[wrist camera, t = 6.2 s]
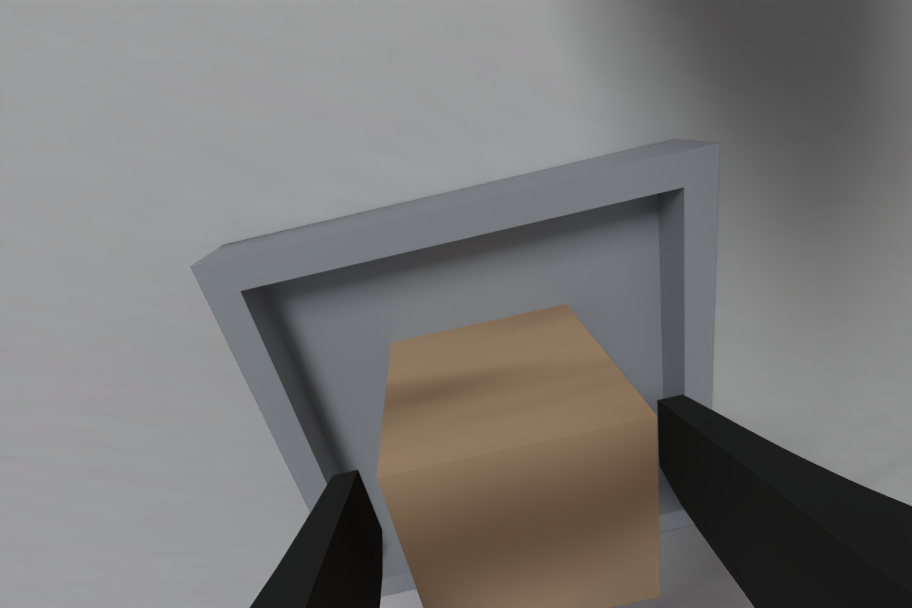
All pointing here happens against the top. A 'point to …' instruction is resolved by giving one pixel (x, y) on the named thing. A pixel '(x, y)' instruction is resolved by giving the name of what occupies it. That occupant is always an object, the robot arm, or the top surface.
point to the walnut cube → (520, 467)
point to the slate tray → (472, 298)
